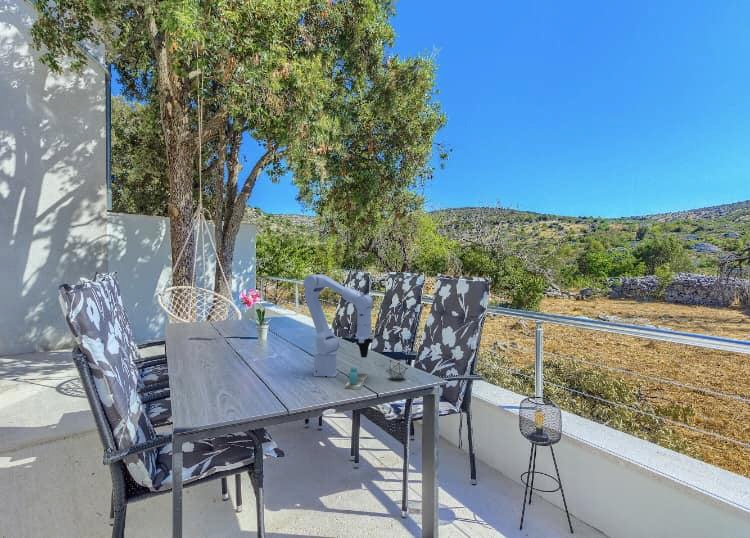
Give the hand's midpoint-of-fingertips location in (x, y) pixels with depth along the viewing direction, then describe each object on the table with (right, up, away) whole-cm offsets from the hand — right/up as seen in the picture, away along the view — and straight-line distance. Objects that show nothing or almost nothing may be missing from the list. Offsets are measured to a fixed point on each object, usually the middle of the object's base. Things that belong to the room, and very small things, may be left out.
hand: (364, 357), depth 165 cm
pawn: (-4, -8, -10) cm, 14 cm away
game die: (+14, -10, +1) cm, 17 cm away
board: (-3, -9, -4) cm, 10 cm away
